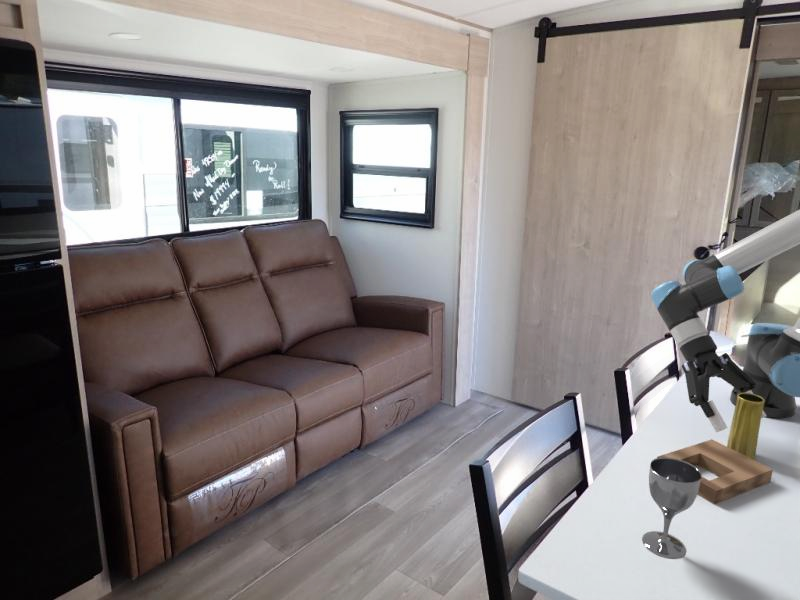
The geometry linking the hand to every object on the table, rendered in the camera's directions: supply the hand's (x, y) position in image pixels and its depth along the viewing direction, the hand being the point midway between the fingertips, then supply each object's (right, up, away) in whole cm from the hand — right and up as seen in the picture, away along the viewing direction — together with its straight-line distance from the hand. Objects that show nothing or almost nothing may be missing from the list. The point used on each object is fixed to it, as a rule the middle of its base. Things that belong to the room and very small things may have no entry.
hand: (741, 424), depth 130 cm
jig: (-10, -10, -7) cm, 16 cm away
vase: (+1, -8, +2) cm, 8 cm away
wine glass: (-31, -15, -28) cm, 44 cm away
